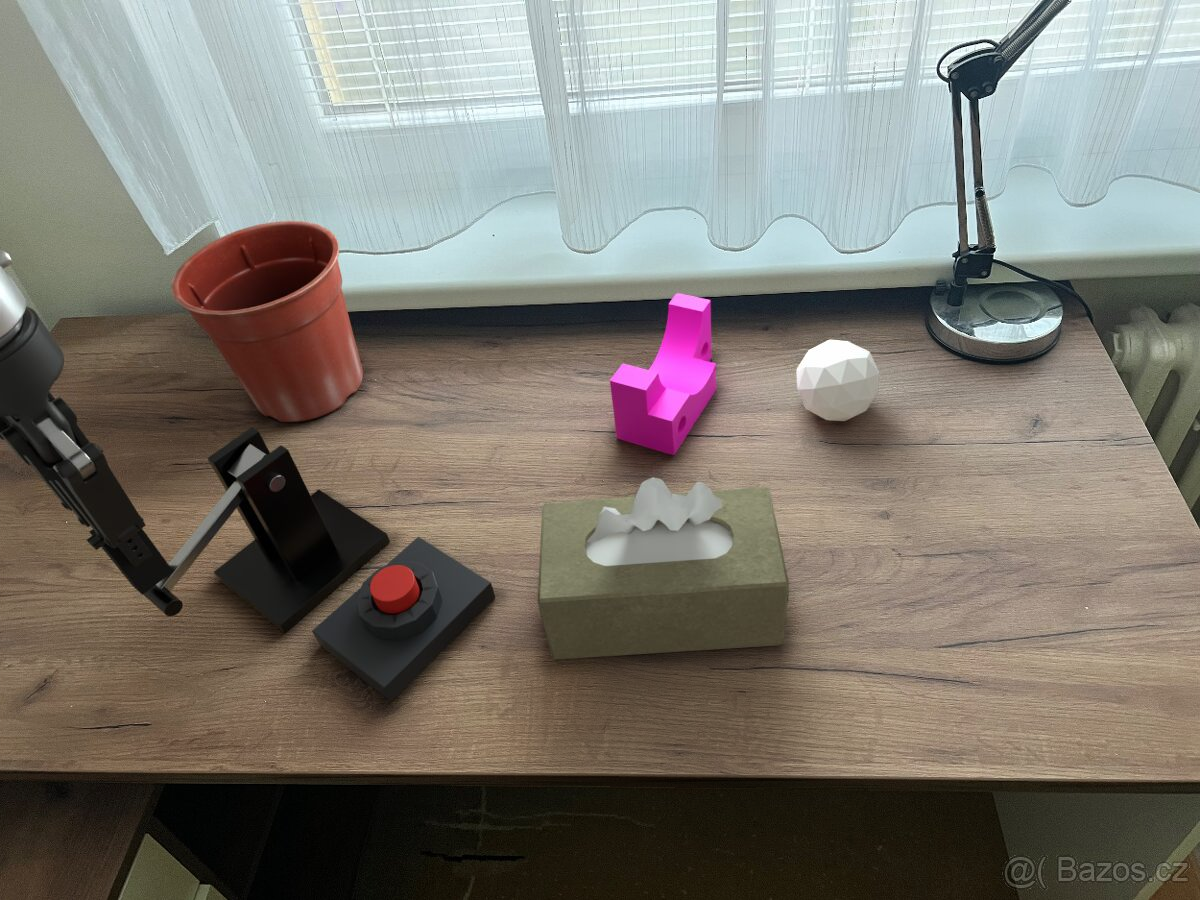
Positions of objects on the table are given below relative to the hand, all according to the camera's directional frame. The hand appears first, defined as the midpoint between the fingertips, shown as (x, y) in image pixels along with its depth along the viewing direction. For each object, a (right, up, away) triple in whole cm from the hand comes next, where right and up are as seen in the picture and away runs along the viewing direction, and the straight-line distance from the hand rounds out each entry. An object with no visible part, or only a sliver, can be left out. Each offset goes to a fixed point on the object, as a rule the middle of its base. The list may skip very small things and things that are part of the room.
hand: (152, 578), depth 67 cm
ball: (+58, +14, +19) cm, 62 cm away
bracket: (+8, 0, +12) cm, 14 cm away
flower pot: (+2, +17, +30) cm, 35 cm away
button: (+18, -2, +4) cm, 19 cm away
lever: (+4, +3, +3) cm, 6 cm away
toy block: (+42, +15, +23) cm, 50 cm away
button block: (+18, -5, +6) cm, 20 cm away
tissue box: (+40, -3, +5) cm, 40 cm away
